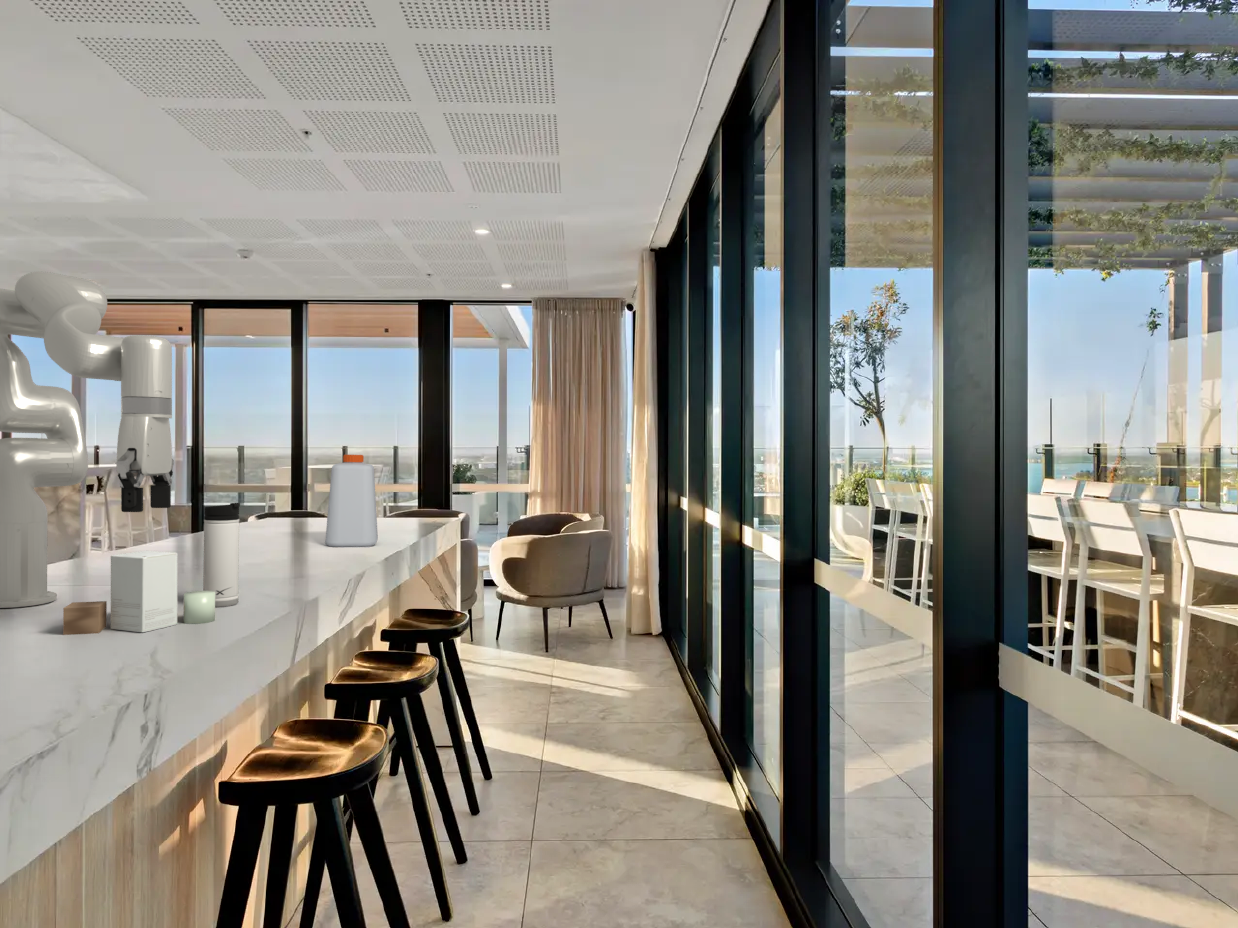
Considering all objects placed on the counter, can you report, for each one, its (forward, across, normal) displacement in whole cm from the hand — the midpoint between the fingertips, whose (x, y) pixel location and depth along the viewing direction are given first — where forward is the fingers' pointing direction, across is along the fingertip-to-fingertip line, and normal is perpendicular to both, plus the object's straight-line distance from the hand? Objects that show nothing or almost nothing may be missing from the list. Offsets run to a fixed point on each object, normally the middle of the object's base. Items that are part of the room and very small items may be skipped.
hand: (146, 509), depth 140 cm
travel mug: (+20, -20, +4) cm, 29 cm away
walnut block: (+20, +3, -9) cm, 22 cm away
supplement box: (+20, 0, -1) cm, 20 cm away
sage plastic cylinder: (+20, -5, +6) cm, 22 cm away
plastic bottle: (+19, -116, +6) cm, 118 cm away
